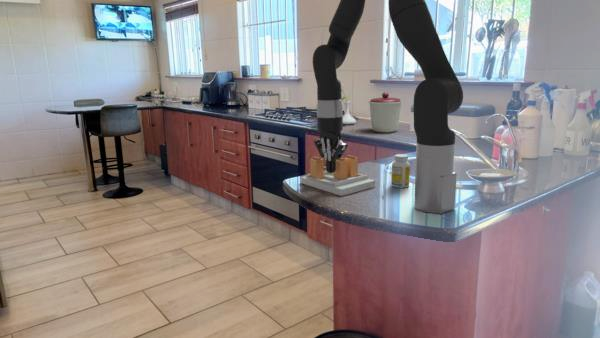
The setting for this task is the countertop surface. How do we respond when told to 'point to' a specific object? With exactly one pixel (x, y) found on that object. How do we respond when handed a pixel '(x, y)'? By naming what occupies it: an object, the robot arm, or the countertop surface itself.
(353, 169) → the tab
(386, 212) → the countertop surface
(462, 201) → the countertop surface
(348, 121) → the flower in vase
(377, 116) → the canister
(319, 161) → the tab
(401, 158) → the supplement bottle
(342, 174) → the tab
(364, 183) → the switch bank
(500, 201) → the countertop surface
